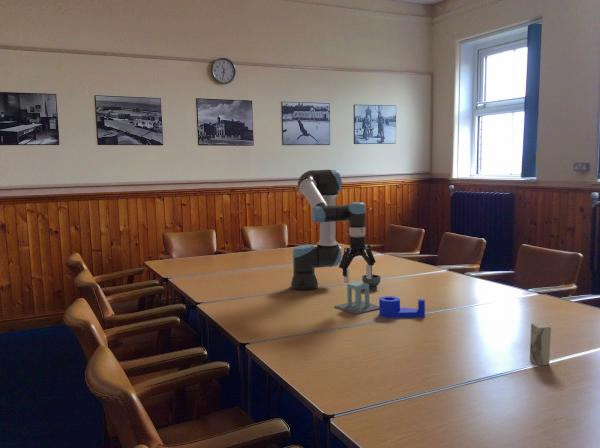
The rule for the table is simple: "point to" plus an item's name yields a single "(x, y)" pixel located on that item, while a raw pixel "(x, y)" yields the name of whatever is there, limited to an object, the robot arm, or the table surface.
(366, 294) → the slotted teal block
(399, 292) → the table surface
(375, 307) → the mat
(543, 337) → the grey stone block
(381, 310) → the bracket
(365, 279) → the mortar and pestle
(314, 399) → the table surface
